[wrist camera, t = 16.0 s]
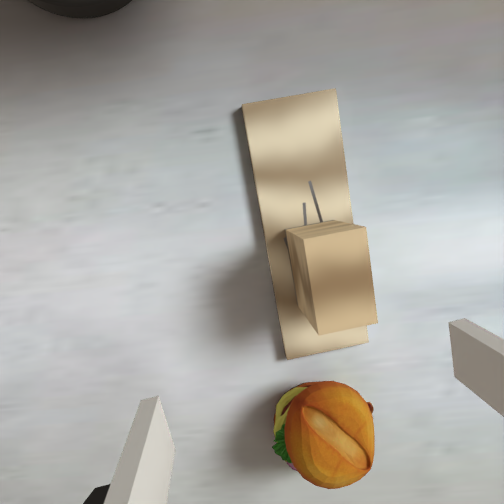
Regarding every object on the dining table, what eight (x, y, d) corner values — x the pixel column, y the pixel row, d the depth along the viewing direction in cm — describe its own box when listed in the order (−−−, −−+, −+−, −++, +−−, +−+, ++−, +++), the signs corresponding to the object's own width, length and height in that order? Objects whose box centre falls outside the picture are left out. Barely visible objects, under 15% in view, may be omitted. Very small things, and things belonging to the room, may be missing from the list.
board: (241, 106, 33) (242, 104, 32) (332, 91, 34) (335, 88, 33) (285, 355, 38) (287, 360, 37) (364, 338, 38) (368, 342, 38)
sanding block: (284, 229, 35) (303, 239, 27) (333, 219, 35) (366, 227, 27) (297, 304, 36) (318, 335, 28) (343, 295, 36) (377, 322, 29)
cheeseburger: (260, 456, 40) (275, 515, 30) (271, 360, 41) (290, 386, 31) (345, 463, 41) (388, 522, 31) (354, 370, 42) (399, 398, 32)
